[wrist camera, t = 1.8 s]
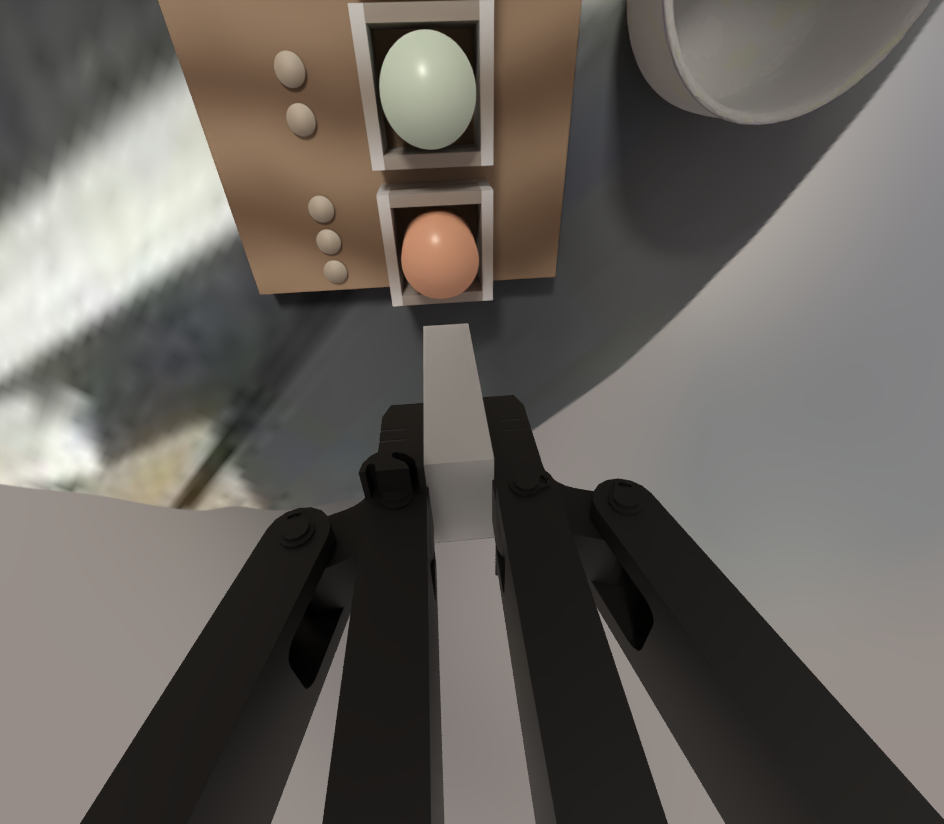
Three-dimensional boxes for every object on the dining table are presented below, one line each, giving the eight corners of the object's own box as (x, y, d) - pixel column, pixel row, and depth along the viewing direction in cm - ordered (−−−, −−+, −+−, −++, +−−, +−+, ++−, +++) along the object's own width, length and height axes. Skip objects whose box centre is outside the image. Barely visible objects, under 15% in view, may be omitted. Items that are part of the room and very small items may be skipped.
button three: (399, 208, 23) (396, 223, 21) (472, 204, 23) (478, 219, 21) (407, 280, 26) (406, 301, 23) (474, 276, 26) (479, 296, 23)
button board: (99, -230, 16) (-5, -329, 12) (590, -227, 17) (640, -317, 13) (268, 283, 29) (243, 316, 25) (548, 267, 30) (568, 296, 26)
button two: (378, 36, 19) (371, 30, 16) (468, 33, 19) (475, 27, 17) (391, 143, 21) (387, 151, 19) (471, 140, 22) (477, 147, 19)
